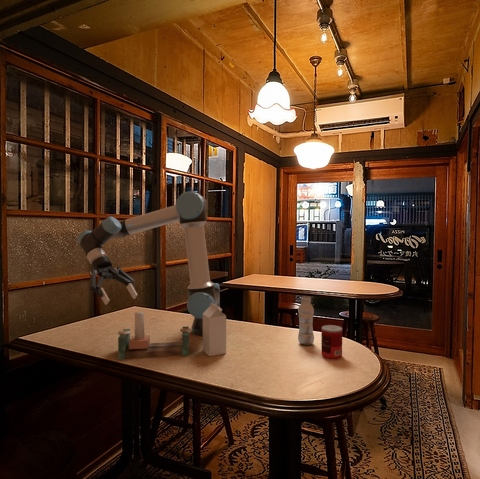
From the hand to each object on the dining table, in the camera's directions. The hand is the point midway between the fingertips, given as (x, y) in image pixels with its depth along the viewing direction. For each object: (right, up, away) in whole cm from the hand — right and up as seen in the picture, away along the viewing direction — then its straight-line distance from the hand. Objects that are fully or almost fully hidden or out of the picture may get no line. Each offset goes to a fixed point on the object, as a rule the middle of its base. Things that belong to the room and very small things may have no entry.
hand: (122, 299), depth 143 cm
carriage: (+9, -17, -5) cm, 20 cm away
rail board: (+15, -20, -4) cm, 25 cm away
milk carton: (+38, -20, -5) cm, 43 cm away
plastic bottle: (+76, -20, +5) cm, 79 cm away
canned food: (+83, -20, -9) cm, 86 cm away
